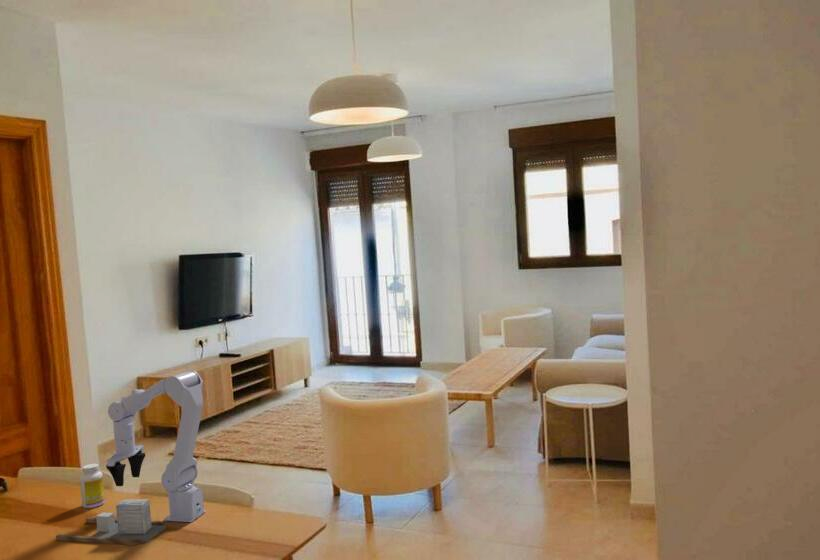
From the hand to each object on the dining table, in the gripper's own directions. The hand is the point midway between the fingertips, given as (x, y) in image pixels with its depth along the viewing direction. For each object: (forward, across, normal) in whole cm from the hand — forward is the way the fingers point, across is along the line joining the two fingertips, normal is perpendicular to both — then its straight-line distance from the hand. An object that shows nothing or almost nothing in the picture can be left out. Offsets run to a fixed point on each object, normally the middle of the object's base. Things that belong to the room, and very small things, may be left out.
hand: (127, 481), depth 200 cm
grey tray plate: (+9, +15, +11) cm, 21 cm away
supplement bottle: (+10, -3, -16) cm, 19 cm away
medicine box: (+9, +15, +13) cm, 22 cm away
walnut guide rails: (+9, +15, +5) cm, 18 cm away
